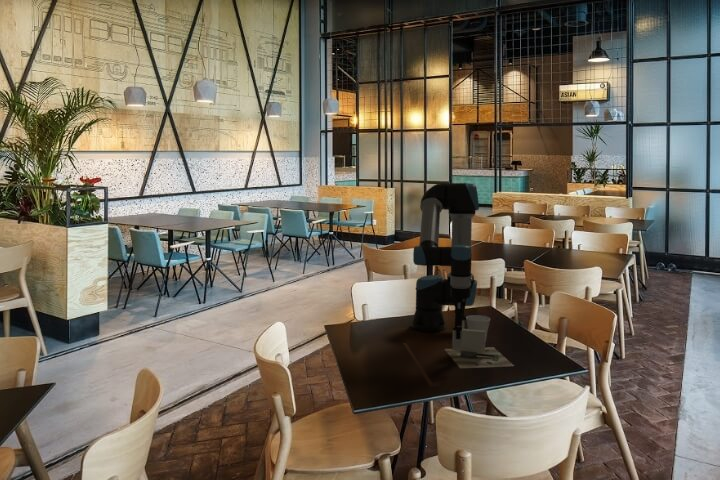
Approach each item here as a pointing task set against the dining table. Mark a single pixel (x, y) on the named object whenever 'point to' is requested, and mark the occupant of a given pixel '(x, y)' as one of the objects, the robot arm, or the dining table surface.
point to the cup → (478, 323)
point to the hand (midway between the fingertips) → (459, 341)
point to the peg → (471, 343)
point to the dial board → (480, 359)
